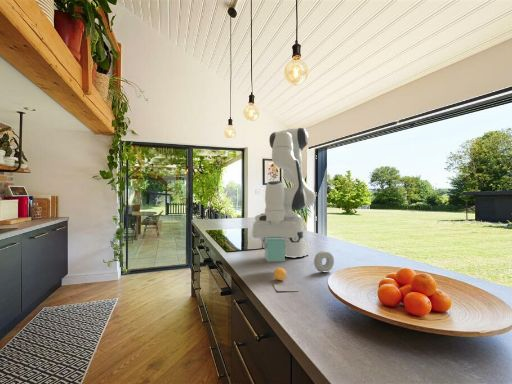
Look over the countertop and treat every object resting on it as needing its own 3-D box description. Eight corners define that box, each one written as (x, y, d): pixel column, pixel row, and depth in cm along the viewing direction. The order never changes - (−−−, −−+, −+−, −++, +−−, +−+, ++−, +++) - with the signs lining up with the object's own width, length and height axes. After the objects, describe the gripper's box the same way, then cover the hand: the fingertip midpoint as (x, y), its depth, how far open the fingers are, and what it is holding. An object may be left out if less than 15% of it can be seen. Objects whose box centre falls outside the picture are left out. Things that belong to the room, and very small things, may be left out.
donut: (330, 270, 120) (330, 248, 120) (335, 272, 117) (335, 250, 117) (312, 272, 116) (312, 250, 116) (316, 274, 113) (316, 252, 113)
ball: (272, 278, 108) (272, 266, 108) (284, 277, 109) (284, 266, 109) (275, 282, 103) (275, 269, 103) (287, 281, 104) (287, 269, 104)
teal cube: (264, 257, 119) (264, 238, 119) (281, 257, 120) (281, 238, 120) (267, 261, 111) (267, 241, 112) (285, 261, 112) (285, 240, 113)
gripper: (295, 216, 121) (295, 246, 120) (251, 216, 118) (251, 246, 118) (299, 217, 114) (299, 248, 114) (253, 217, 112) (253, 249, 111)
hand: (274, 247), depth 116 cm, fingers closed on teal cube, 8 cm apart
